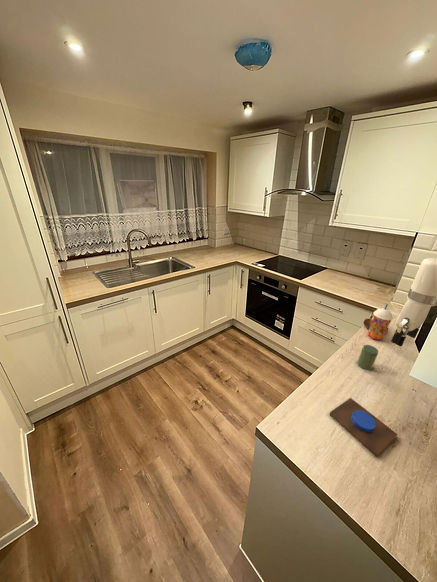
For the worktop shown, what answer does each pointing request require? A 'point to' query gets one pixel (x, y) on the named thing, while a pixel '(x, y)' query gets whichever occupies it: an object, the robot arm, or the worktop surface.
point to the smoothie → (379, 323)
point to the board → (370, 440)
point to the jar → (367, 357)
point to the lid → (363, 421)
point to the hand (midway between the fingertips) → (403, 339)
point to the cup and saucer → (368, 321)
